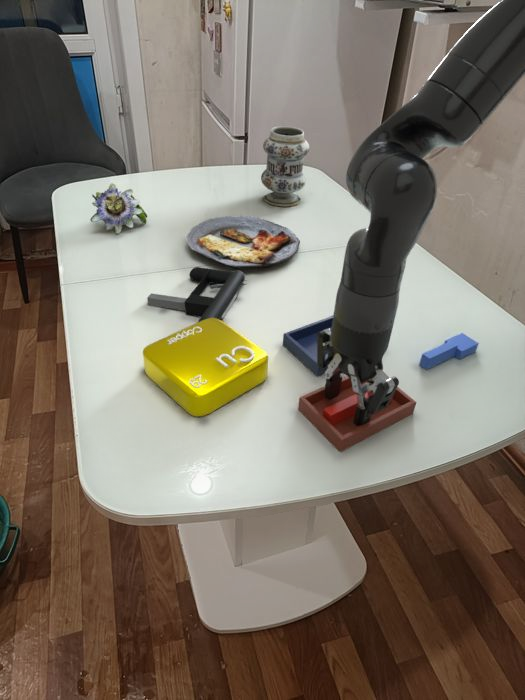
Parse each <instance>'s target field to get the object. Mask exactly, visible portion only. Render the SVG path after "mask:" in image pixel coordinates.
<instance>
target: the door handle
mask: <svg viewBox="0 0 525 700" xmlns="http://www.w3.org/2000/svg"><path fill="white" fill-rule="evenodd" d="M188 274H189V279H190V280H191V281H195V282H199V283H198V284H197V285H196V286H195V288H194V289H193V290H192V291H191V293H190V294H189V295H188V296H187V298H186V297H179V296H172V295H165V294H158V293H150V294H149V295H148V296H147V305H148V306H151V307H157V308H158V307H159V308H164V309H171V310H178V311H185V315H186V316H190V317H196V318H199V319H198V321H197V323H198V322H200V321H202V320H205V319H208V318H216V319H219V320H224V318H225V316H226V315H227V313H228V311H229V310H230V308H231V306H232V305H233V303H234V301H235V300H236V298H237V297H238V291H239V290H240V289H241V287H242V286H243V285H245V286H246V285H248V284H246V283H244V282H245V281H246V282H247V279H245V278H246V276H245V273H244V272H243V271H242V270H240V269H236V270H233V271H232V270H223V269H216V268H209V267H208V268H207V267H200V266H195V267H193V268H192V269H191V270H190V271H189V273H188ZM209 284H212V285H209ZM208 286H210V289H211V290H213V289H217V288H218V289H219V288H220V289H219V290H218V292H217V293H216V295H215V296H214V297H213V296H205V295H202V294H203V292H204V291H205V289H207V287H208Z"/></svg>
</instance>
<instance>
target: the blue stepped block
mask: <svg viewBox="0 0 525 700" xmlns="http://www.w3.org/2000/svg"><path fill="white" fill-rule="evenodd" d="M479 344H480V343H479V342H478V341H476V340H474V339H473V338H471V337H469V336H468V335H467V334H465V333H463V332H461V333H459V334H456V335H454V336H452V337H450V338H447V339H446V340H444V343H443V344H441V345H438V346H436V347H434V348H431V349H430V350H427V351H425V352H422V354H421V357H420V361H419V364H418V365H419V366H420V367H421V368H423V369H424V370H426V371H427V370H429V369H431V368H433V367H435V366H437V365H439V364H441V363H443V362H445V361H448V360H450V359H452V358H454V357H455V358H456V359H458V360H461V359H464V358H465V357H467V356H470V355H471V354H474V353H476V351H477V349H478V346H479Z"/></svg>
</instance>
